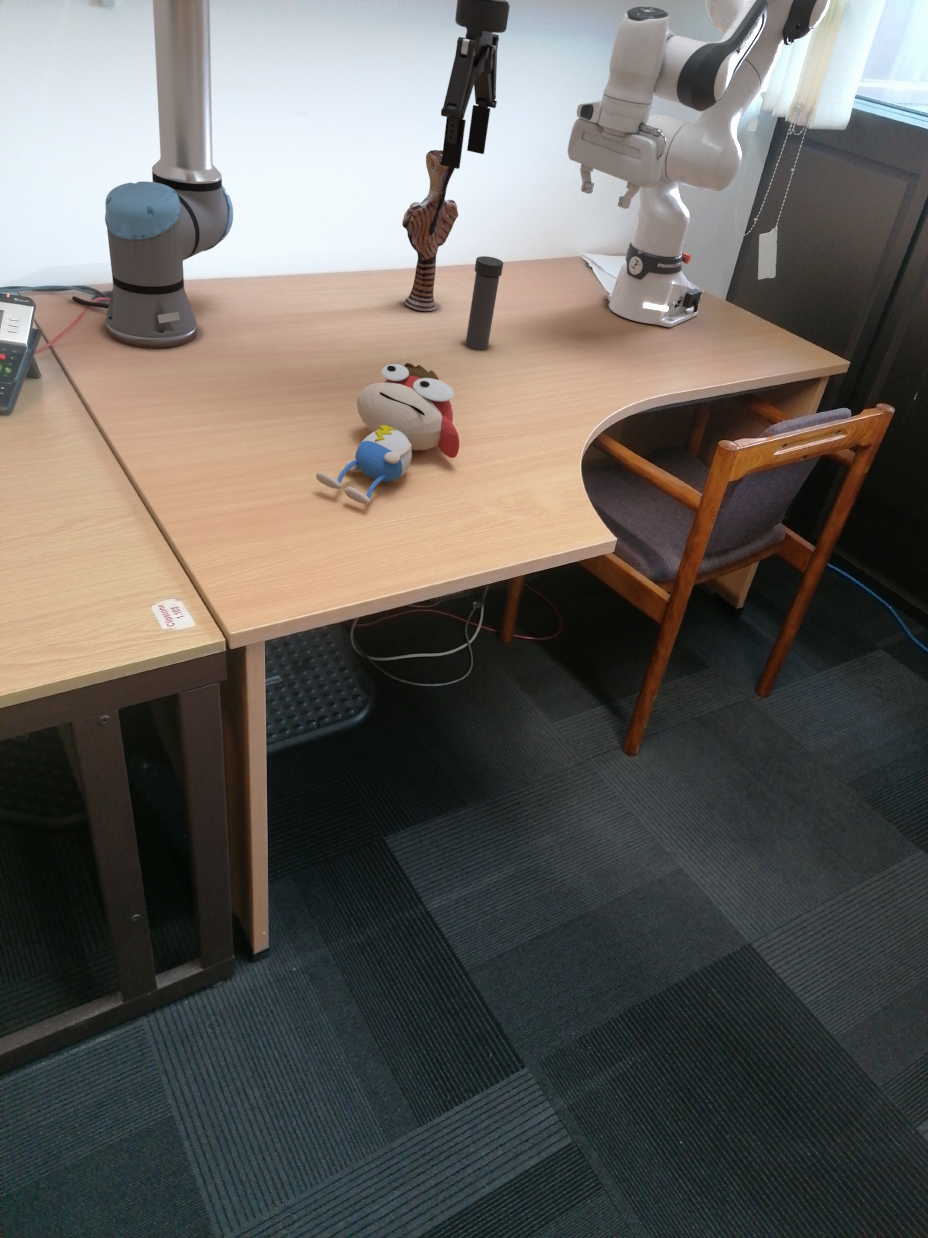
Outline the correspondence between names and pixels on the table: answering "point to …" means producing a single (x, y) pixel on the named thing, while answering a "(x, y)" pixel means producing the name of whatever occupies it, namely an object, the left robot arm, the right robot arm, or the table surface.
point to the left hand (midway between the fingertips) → (463, 159)
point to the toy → (399, 425)
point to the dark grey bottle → (481, 312)
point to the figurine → (429, 230)
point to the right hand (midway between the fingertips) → (604, 199)
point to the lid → (488, 266)
